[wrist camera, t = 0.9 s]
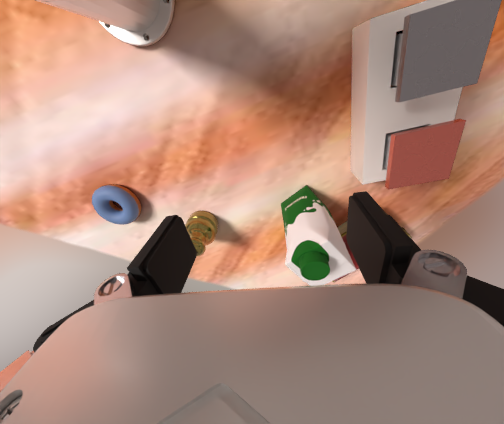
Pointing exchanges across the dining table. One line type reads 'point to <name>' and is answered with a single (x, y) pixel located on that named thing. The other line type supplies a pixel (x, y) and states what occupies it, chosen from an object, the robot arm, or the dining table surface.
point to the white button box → (386, 94)
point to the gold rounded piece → (202, 230)
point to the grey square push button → (442, 47)
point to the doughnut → (121, 196)
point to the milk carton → (313, 240)
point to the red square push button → (421, 153)
